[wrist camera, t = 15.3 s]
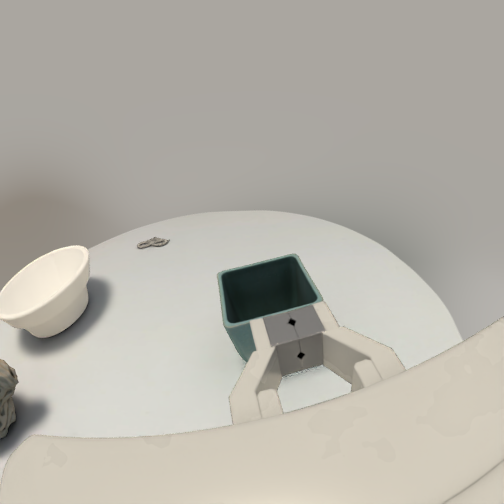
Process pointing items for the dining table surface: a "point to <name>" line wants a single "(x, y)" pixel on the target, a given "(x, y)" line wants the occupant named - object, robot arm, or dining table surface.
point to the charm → (152, 242)
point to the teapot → (6, 397)
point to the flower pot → (262, 295)
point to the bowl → (48, 292)
